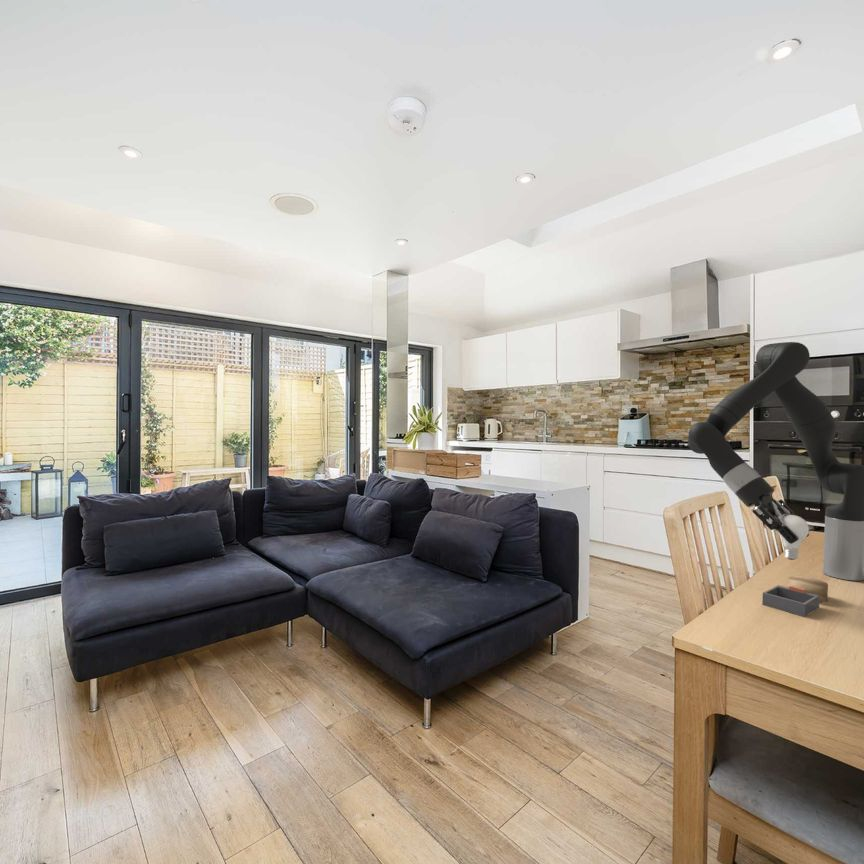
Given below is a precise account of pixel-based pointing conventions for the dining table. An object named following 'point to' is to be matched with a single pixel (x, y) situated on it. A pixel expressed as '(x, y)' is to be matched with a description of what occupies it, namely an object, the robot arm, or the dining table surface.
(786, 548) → the lightbulb
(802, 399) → the robot arm
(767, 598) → the dark grey open tray
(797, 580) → the oak stand
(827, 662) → the dining table surface
